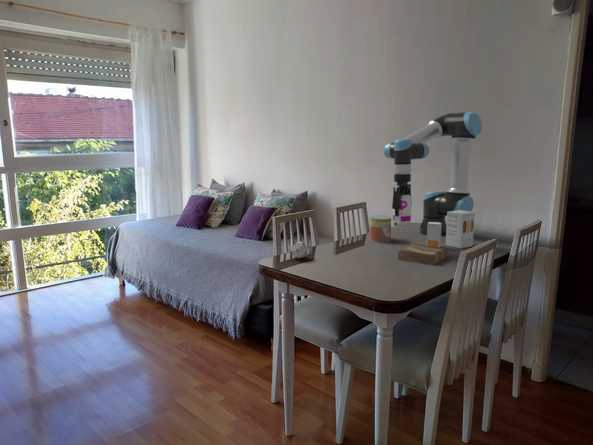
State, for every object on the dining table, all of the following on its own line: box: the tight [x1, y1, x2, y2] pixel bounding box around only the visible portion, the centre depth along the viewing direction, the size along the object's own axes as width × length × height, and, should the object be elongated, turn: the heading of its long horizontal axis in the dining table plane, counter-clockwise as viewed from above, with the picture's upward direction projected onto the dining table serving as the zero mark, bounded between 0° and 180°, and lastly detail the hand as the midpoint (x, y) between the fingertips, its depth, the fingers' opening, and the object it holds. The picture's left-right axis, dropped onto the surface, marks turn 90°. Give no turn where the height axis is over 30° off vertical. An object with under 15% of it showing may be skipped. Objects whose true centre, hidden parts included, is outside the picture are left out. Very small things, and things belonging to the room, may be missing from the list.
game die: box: [289, 239, 311, 261], centre depth 202 cm, size 9×8×10 cm
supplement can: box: [392, 194, 412, 229], centre depth 213 cm, size 8×8×15 cm
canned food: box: [368, 214, 392, 243], centre depth 236 cm, size 11×11×12 cm
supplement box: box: [445, 210, 476, 249], centre depth 220 cm, size 10×9×17 cm
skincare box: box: [425, 222, 442, 248], centre depth 218 cm, size 6×4×12 cm
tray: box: [397, 243, 448, 266], centre depth 200 cm, size 16×16×4 cm
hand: (401, 221), depth 214 cm, fingers closed on supplement can, 8 cm apart
